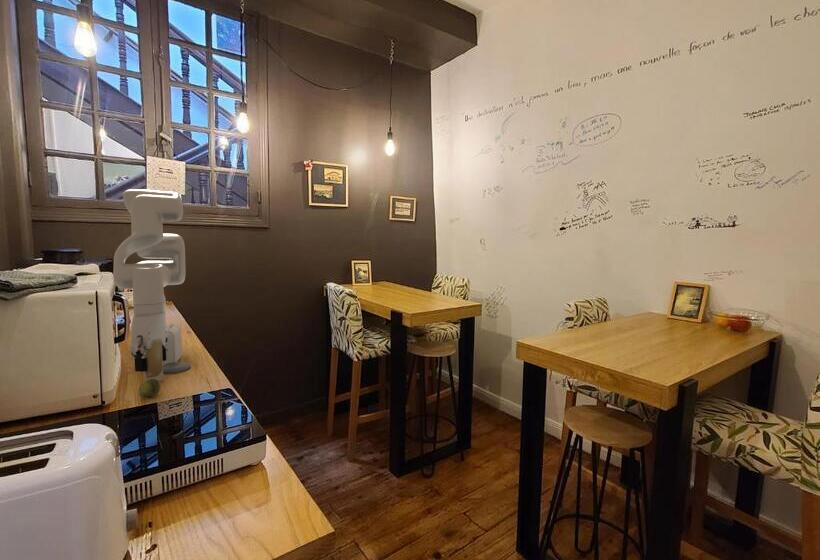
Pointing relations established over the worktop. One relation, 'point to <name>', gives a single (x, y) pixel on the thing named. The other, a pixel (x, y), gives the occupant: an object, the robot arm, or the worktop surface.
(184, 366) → the coaster
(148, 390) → the lime
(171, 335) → the photo printer
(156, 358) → the skincare box
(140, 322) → the robot arm
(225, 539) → the worktop surface
